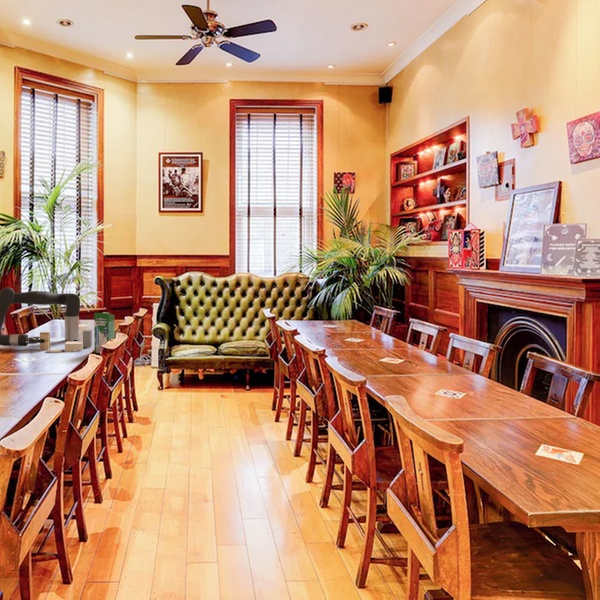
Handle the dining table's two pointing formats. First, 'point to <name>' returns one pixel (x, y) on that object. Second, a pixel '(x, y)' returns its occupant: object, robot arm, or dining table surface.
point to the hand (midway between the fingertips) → (46, 340)
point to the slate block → (87, 338)
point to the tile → (55, 350)
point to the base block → (73, 345)
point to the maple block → (47, 340)
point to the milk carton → (103, 329)
